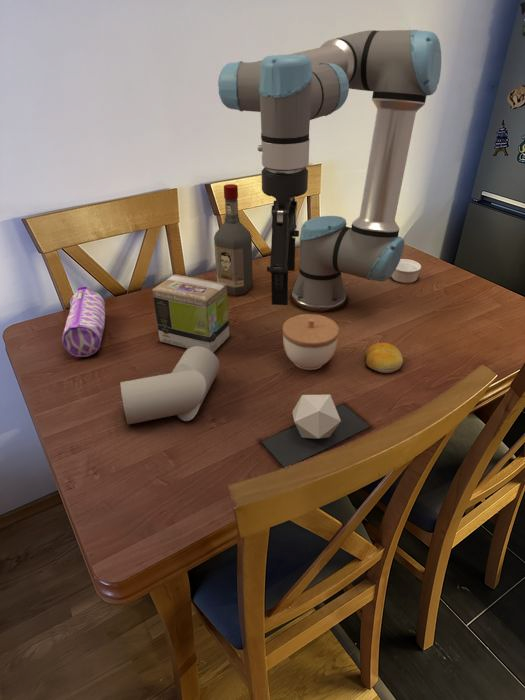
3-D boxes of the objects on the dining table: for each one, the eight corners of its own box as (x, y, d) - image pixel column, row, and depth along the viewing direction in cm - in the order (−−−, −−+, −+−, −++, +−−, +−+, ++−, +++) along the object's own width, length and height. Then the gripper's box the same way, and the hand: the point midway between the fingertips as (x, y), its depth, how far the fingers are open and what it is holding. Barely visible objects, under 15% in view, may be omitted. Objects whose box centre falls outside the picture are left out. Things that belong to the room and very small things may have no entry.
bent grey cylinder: (199, 440, 91) (229, 376, 107) (182, 395, 86) (216, 335, 102) (118, 440, 97) (158, 380, 113) (97, 398, 91) (142, 341, 107)
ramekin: (422, 284, 147) (424, 271, 145) (392, 284, 147) (394, 271, 145) (414, 271, 154) (417, 258, 152) (386, 271, 155) (388, 258, 152)
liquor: (229, 279, 151) (224, 179, 134) (255, 285, 147) (253, 183, 131) (214, 291, 144) (206, 188, 127) (241, 298, 141) (237, 192, 124)
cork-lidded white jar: (321, 383, 107) (324, 341, 101) (271, 366, 113) (272, 325, 106) (344, 355, 116) (349, 315, 110) (298, 340, 122) (299, 301, 115)
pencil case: (72, 317, 132) (64, 285, 127) (108, 313, 134) (101, 281, 129) (66, 363, 114) (56, 328, 109) (107, 357, 116) (99, 323, 111)
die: (324, 458, 89) (354, 414, 87) (282, 435, 88) (312, 389, 86) (318, 439, 98) (346, 398, 96) (280, 418, 97) (307, 376, 95)
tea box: (230, 336, 124) (228, 283, 115) (211, 356, 116) (206, 301, 108) (180, 323, 129) (174, 271, 121) (158, 342, 121) (150, 288, 113)
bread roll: (365, 372, 110) (367, 358, 108) (365, 351, 118) (367, 336, 115) (403, 376, 109) (405, 361, 107) (401, 354, 116) (403, 340, 114)
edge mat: (285, 469, 87) (285, 468, 87) (261, 442, 92) (261, 441, 92) (369, 427, 95) (369, 426, 95) (343, 404, 101) (343, 404, 101)
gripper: (271, 148, 89) (272, 257, 101) (248, 190, 69) (253, 319, 81) (312, 149, 88) (308, 258, 100) (302, 191, 68) (298, 322, 80)
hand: (283, 286), depth 91 cm, fingers open, 13 cm apart
